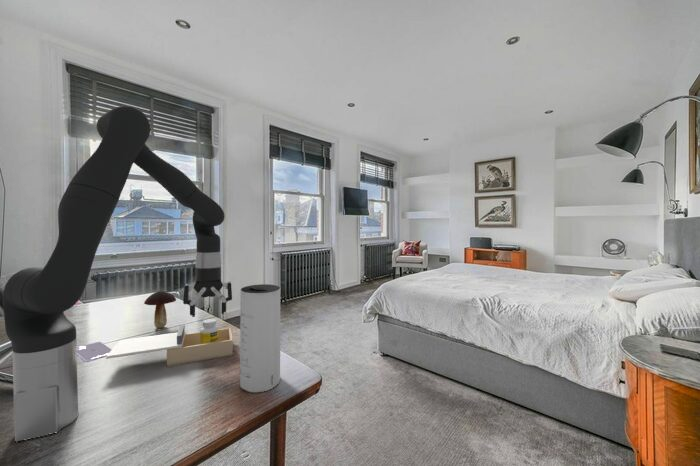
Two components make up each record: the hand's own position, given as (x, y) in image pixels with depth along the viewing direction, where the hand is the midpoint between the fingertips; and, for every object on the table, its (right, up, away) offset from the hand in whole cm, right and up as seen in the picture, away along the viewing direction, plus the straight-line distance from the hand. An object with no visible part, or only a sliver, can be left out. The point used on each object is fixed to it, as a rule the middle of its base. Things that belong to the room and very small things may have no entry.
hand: (208, 314), depth 95 cm
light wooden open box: (-2, -13, 0) cm, 13 cm away
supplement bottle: (0, -12, +1) cm, 12 cm away
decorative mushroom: (-30, -12, +22) cm, 39 cm away
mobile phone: (-38, -13, 0) cm, 40 cm away
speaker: (+23, -13, -17) cm, 31 cm away
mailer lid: (-15, -7, -6) cm, 18 cm away
